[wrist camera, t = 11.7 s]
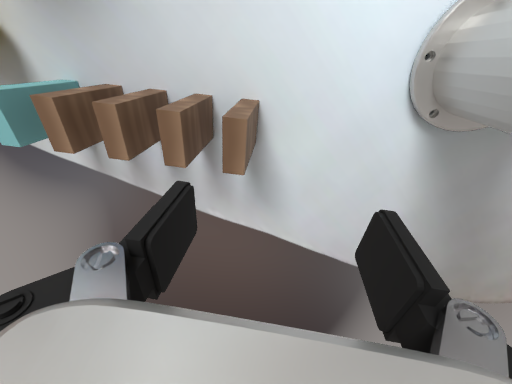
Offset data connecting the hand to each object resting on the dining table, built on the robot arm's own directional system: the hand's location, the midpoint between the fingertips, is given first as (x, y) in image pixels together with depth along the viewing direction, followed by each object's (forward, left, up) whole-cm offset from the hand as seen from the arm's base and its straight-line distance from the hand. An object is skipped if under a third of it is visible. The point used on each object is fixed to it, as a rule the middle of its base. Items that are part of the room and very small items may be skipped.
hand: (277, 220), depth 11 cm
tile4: (+21, 0, -18) cm, 27 cm away
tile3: (+15, 0, -18) cm, 23 cm away
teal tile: (+26, 0, -18) cm, 32 cm away
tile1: (+4, 0, -18) cm, 18 cm away
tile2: (+10, 0, -18) cm, 20 cm away
